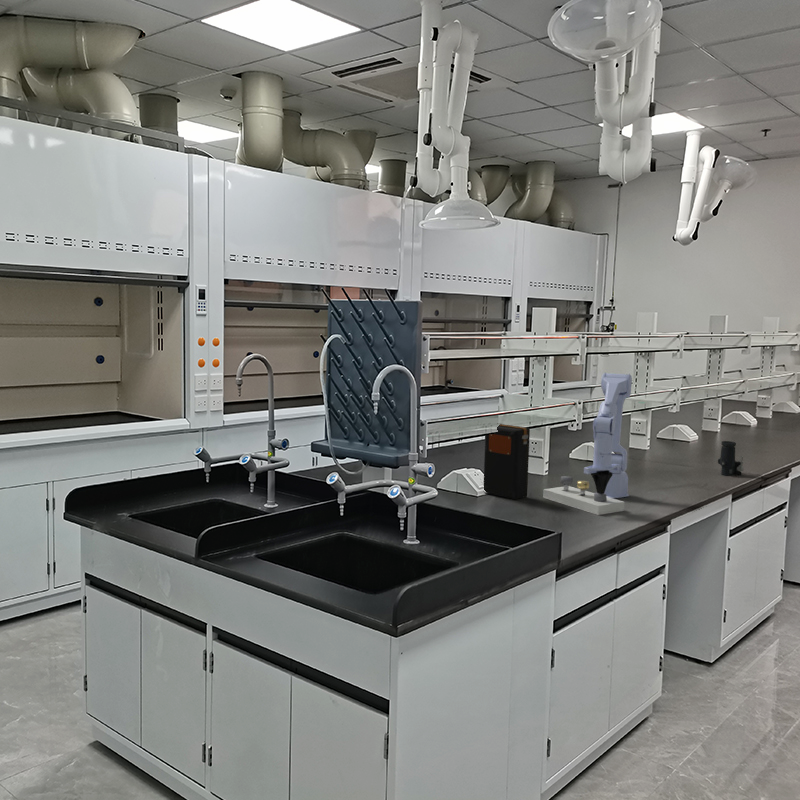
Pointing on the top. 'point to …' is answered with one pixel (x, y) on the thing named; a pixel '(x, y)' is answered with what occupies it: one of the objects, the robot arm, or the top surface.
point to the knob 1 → (566, 482)
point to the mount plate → (583, 500)
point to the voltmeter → (507, 461)
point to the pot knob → (582, 486)
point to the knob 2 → (600, 497)
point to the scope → (729, 460)
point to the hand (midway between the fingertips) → (600, 493)
